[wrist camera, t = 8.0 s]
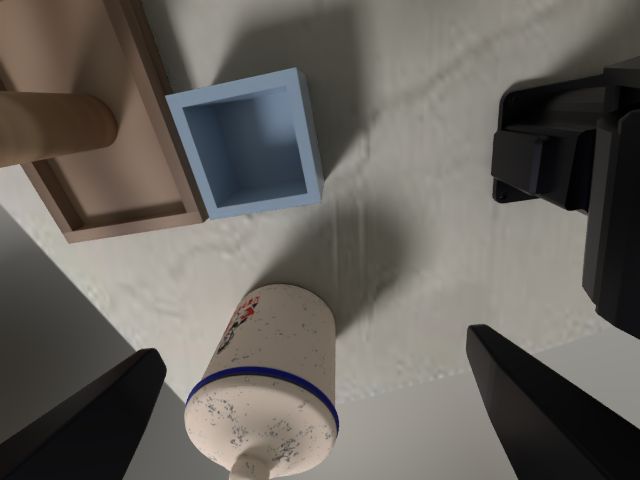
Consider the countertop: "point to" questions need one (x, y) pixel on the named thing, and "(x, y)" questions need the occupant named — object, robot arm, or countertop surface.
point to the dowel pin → (52, 125)
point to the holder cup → (251, 143)
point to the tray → (123, 100)
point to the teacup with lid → (269, 387)
